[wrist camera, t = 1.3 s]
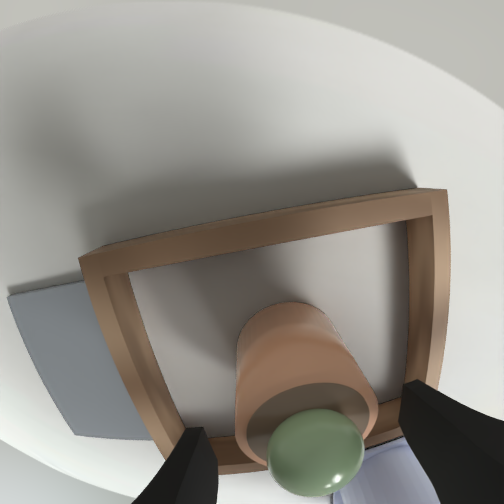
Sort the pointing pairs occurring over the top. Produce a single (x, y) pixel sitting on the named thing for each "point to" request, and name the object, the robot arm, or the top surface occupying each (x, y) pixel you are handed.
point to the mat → (76, 361)
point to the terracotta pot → (301, 400)
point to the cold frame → (259, 235)
